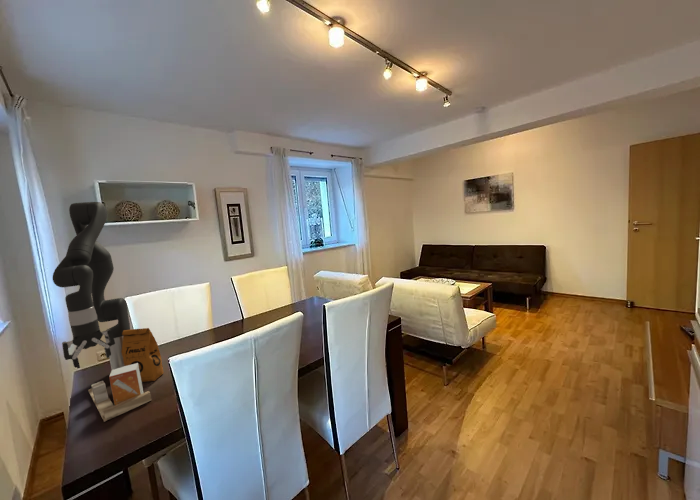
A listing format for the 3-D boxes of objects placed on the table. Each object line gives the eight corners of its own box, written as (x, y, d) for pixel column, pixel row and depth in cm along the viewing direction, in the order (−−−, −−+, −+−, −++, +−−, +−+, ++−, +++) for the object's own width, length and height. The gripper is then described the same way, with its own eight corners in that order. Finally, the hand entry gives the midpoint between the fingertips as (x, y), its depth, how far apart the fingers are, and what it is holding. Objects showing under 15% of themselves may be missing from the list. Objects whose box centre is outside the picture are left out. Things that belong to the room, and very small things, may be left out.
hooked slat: (88, 392, 123) (85, 375, 122) (130, 375, 133) (127, 360, 132) (104, 421, 103) (100, 402, 102) (151, 400, 113) (148, 382, 112)
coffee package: (153, 384, 125) (143, 332, 122) (124, 386, 126) (113, 334, 123) (168, 371, 135) (159, 323, 132) (141, 373, 136) (132, 325, 133)
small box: (115, 411, 109) (108, 376, 107) (118, 402, 114) (111, 369, 113) (142, 402, 113) (136, 369, 111) (144, 394, 118) (138, 362, 117)
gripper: (106, 312, 119) (114, 351, 121) (55, 325, 108) (66, 368, 111) (110, 316, 114) (119, 357, 116) (58, 329, 103) (69, 374, 106)
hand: (93, 362), depth 113 cm, fingers open, 8 cm apart
